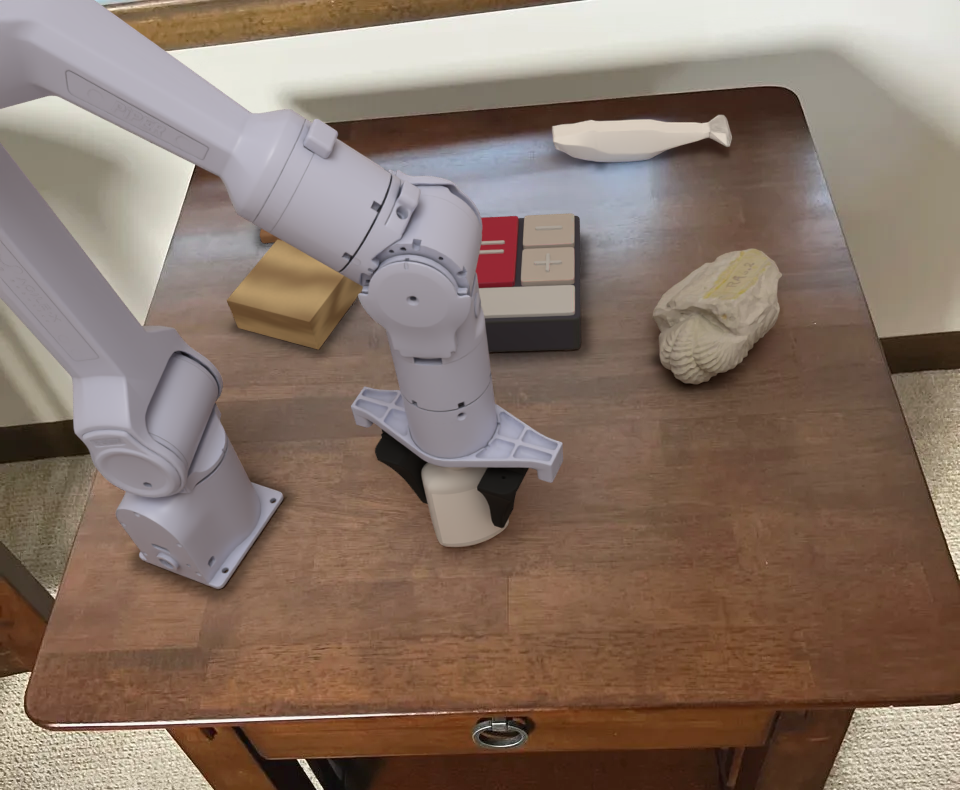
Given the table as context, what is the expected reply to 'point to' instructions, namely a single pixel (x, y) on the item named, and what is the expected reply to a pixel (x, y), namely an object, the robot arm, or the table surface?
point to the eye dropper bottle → (458, 505)
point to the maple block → (292, 297)
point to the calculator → (530, 282)
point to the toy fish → (634, 138)
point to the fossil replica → (717, 314)
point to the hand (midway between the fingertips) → (468, 505)
